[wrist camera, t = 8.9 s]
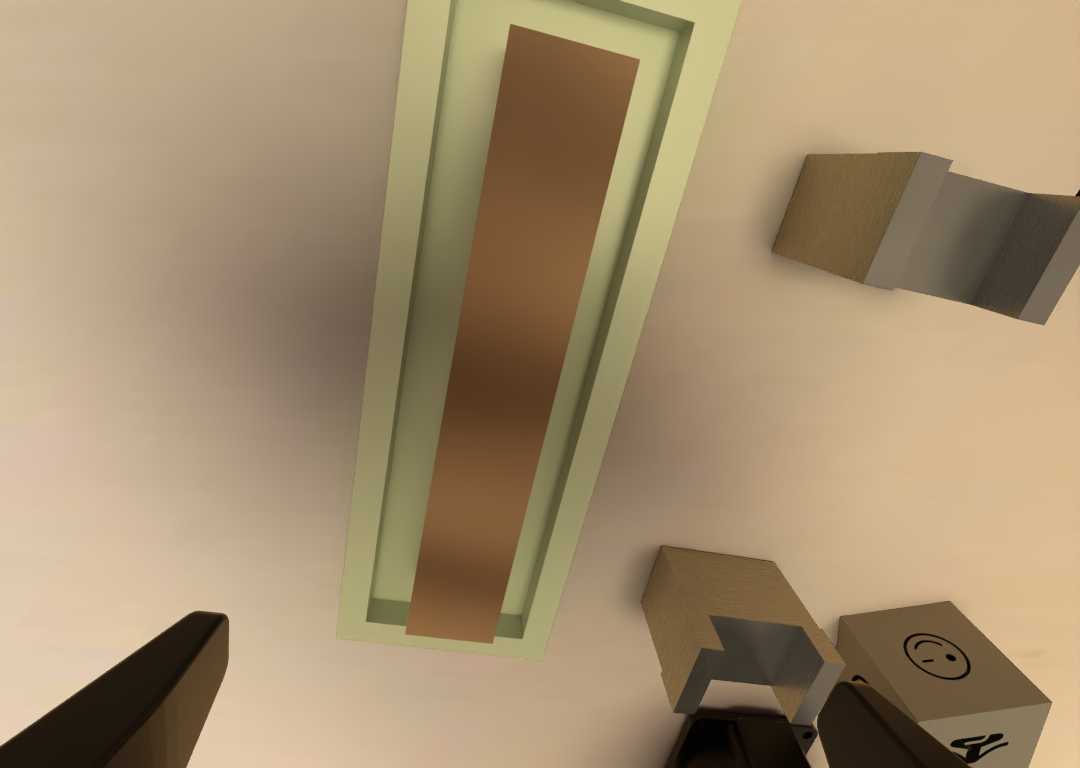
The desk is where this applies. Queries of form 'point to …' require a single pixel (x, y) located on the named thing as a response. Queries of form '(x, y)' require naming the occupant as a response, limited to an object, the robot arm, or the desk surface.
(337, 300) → the desk surface
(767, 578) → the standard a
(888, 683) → the dice cube
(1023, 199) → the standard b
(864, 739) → the robot arm
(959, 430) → the desk surface
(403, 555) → the tray
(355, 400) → the desk surface
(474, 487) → the rail
